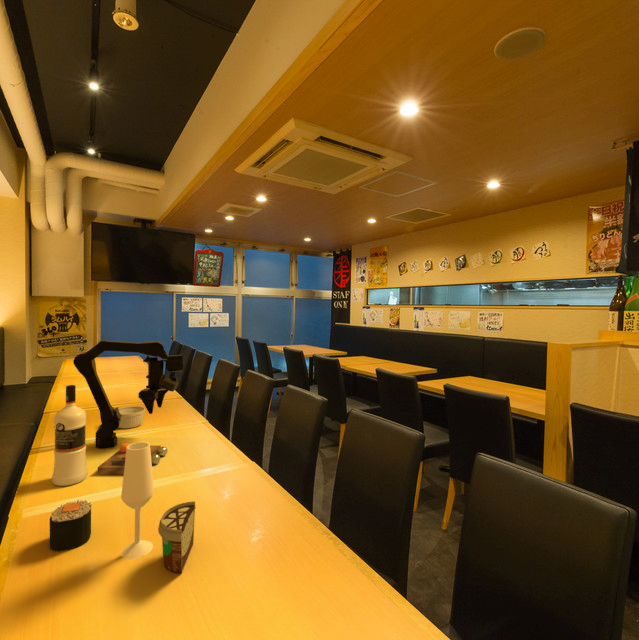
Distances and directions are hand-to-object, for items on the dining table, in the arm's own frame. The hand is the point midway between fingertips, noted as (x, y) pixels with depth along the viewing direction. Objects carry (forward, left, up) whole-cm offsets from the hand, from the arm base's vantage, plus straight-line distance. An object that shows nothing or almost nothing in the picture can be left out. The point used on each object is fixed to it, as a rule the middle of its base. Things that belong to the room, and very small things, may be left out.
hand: (155, 410), depth 150 cm
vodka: (-13, -34, -13) cm, 39 cm away
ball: (-3, -18, -8) cm, 20 cm away
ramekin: (-19, +20, -13) cm, 31 cm away
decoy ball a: (+9, -15, -11) cm, 20 cm away
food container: (+32, -71, -13) cm, 79 cm away
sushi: (+6, -64, -13) cm, 65 cm away
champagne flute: (+22, -68, -13) cm, 72 cm away
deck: (0, -21, -12) cm, 24 cm away
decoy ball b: (+9, -22, -11) cm, 26 cm away
